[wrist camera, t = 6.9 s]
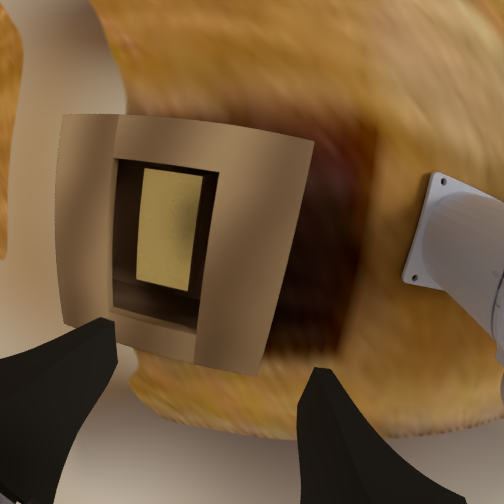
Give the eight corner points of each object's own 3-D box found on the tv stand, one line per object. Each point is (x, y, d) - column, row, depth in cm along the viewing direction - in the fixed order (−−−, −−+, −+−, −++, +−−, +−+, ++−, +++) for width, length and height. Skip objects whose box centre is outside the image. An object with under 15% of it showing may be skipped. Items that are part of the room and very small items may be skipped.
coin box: (299, 145, 17) (314, 141, 11) (260, 319, 21) (256, 376, 15) (117, 121, 17) (62, 114, 11) (106, 283, 21) (63, 323, 15)
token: (217, 171, 17) (202, 176, 13) (203, 263, 19) (187, 291, 15) (170, 164, 17) (144, 168, 13) (160, 254, 19) (136, 279, 15)
